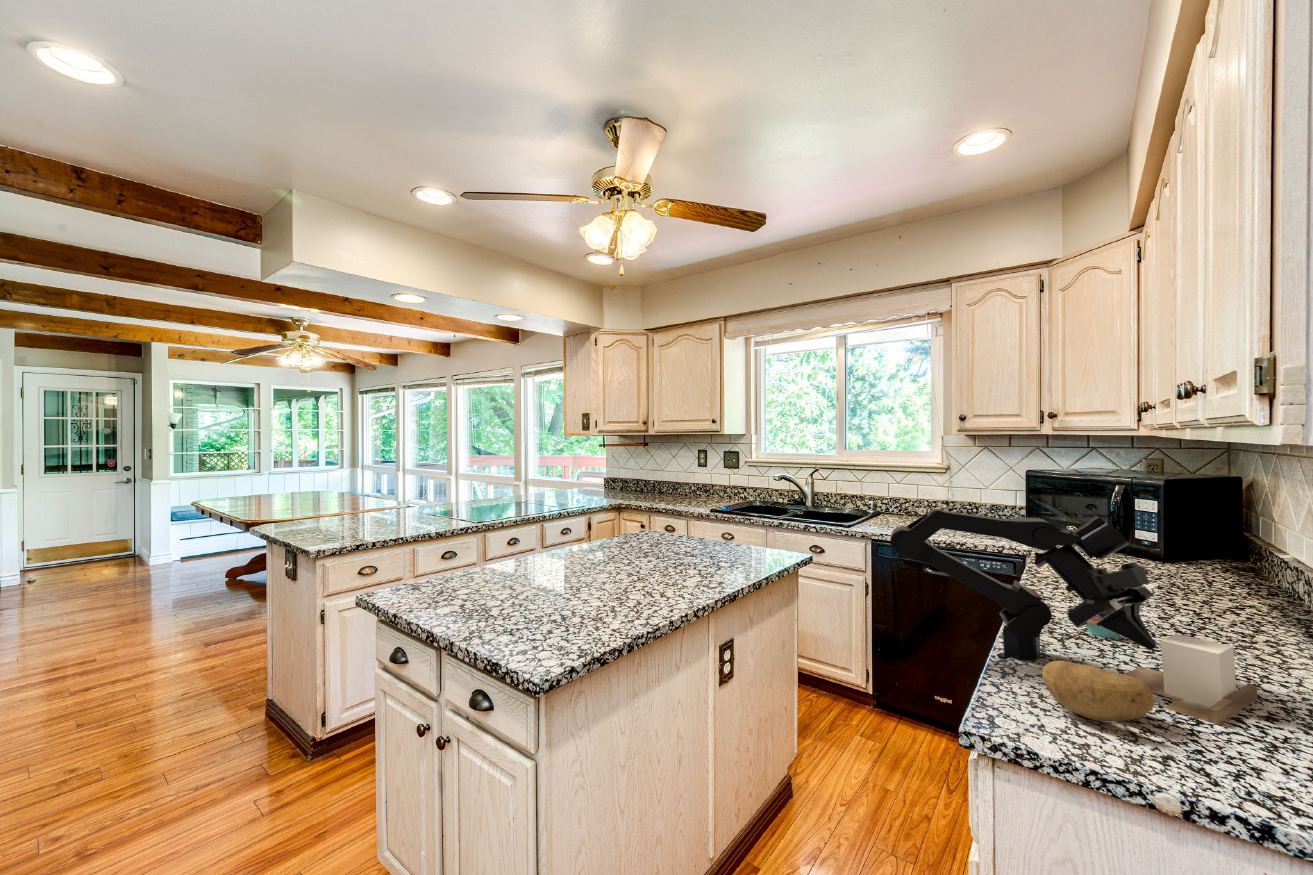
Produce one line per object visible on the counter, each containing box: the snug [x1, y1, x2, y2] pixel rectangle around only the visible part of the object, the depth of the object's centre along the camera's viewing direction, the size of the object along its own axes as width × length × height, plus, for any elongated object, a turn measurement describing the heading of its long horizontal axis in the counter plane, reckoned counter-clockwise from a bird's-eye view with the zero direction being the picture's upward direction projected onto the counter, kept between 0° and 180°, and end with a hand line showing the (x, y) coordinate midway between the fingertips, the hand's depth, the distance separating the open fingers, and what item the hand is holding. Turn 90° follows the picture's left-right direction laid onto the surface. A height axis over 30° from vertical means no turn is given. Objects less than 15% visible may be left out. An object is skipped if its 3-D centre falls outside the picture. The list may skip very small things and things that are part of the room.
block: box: [1160, 633, 1237, 707], centre depth 88 cm, size 7×6×9 cm
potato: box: [1041, 660, 1156, 723], centre depth 85 cm, size 10×14×8 cm
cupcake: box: [1085, 614, 1121, 640], centre depth 117 cm, size 9×8×12 cm
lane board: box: [1123, 666, 1259, 725], centre depth 90 cm, size 15×16×3 cm
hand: (1153, 648), depth 92 cm, fingers closed
